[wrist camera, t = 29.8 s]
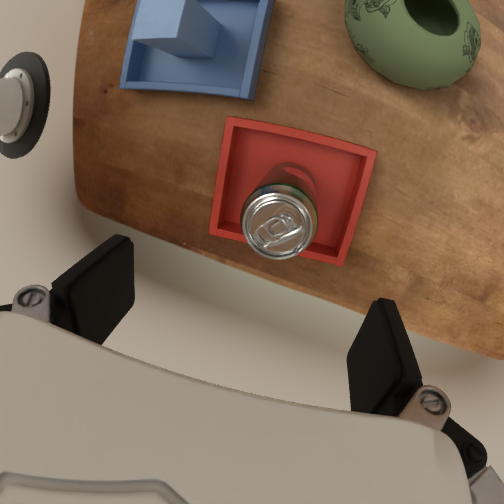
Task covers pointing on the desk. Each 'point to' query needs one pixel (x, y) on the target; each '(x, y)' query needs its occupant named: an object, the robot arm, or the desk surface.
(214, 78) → the blue tray
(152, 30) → the blue block
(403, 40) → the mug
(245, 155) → the red tray
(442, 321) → the desk surface
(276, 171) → the soda can
